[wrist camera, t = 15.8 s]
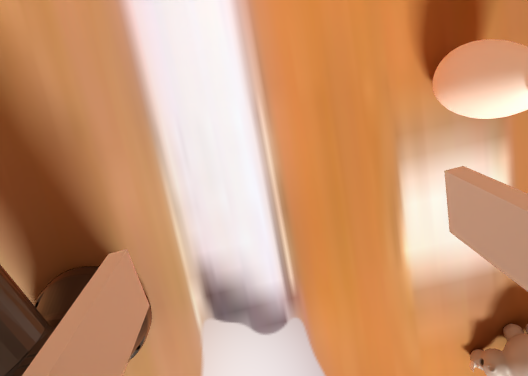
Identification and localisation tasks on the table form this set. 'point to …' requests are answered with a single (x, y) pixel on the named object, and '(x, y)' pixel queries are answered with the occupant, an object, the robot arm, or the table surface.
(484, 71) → the beige teardrop shape
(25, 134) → the table surface
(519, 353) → the chubby cartoon animal
